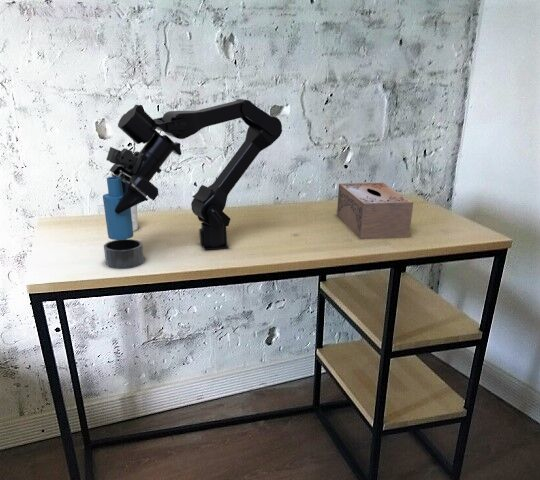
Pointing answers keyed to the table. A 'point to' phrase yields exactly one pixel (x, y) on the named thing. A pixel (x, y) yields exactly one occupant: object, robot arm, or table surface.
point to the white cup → (134, 217)
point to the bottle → (116, 223)
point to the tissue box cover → (374, 210)
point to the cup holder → (123, 253)
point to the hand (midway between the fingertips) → (112, 209)
